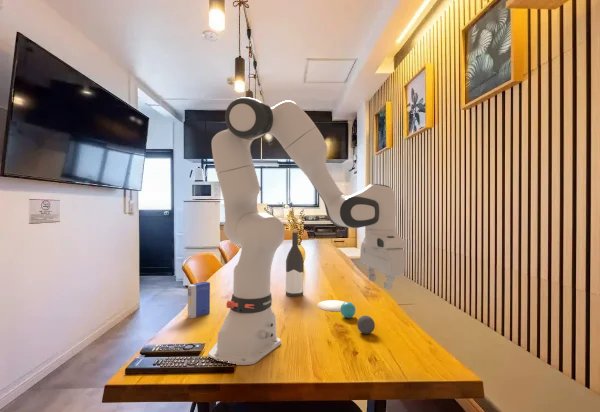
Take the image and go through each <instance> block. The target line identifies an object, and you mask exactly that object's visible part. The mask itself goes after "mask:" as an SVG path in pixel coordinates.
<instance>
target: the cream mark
mask: <svg viewBox="0 0 600 412" xmlns="http://www.w3.org/2000/svg"><path fill="white" fill-rule="evenodd" d="M345 302H346V301H343V300H337V299H336V300H335V299H334V300H333V299H329V300H323V301H319V302H318V303H317V307H318V308H319V309H321V310H322V311H327V312H341V311H340V308H341V305H342V304H343V303H345Z"/></svg>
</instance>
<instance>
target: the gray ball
mask: <svg viewBox="0 0 600 412" xmlns="http://www.w3.org/2000/svg"><path fill="white" fill-rule="evenodd" d="M375 325H376V324H375V320H374V319H373V318H372V317H371V316H369V315H362V316H360V317H359V318H358V319H357V324H356V326H357V329H358V331H359V332H361V333H362V334H364V335H368V334H371V333H372V332H374V330H375V327H376V326H375Z"/></svg>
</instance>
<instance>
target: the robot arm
mask: <svg viewBox="0 0 600 412" xmlns="http://www.w3.org/2000/svg"><path fill="white" fill-rule="evenodd" d="M224 118H225V119H224V120H225V125H226V127H227V129H224V130H221V131H219V132H217V133H216V134H215V135H214V136H213V137H212V139H211V153H212V160H213V164H214V165H213V166H214V168H215V172H216V175H217V180H218V183H219V187H220V191H221V194H222V198H223V205H224V215H225V216H224V219H225V220H224V223H223V227H222V228H223V234H224V236H225V237H226V239H227V240H229V241H230V242H231V243H232V244H234V246H235V245H236V246H238V247H240V248H241V251H240V256H239V258H238V259H239V260H238V261H237V264H236V265H235V266H234V269H233V292H232V295H231V299H230V300H227V301H226V304H225V306H226V309H230V310H229V312H228V314H227V316H226V317H225V319H224V320H223V324H222V325H221V327H220V329H219V331H218V335H217V341H216V343H214V345H213V347H212V348H211V349H210V350H209V352H208V355H207V357H208V358H209V357H211V358H214V359H219V360H224V361H229V362H235V363H236V366H248V365H255V364H256V363H258V362H259V361H260V360H262V359H263V358H264V357H265V356H267V355H268V354H270V353H271V352H272V351H274V350H275V349H276V348H278V347H279V346H280V345H282V339H280V338H279V337H278V334H277V333H278V332H277V317H276V314H275V312H274V311H273V309H272V303H273V302H272V300H273V298H272V293H271V272H272V271H271V270H272V264H273V260H274V257H275V254H276V252H277V250H278V248H279V247H280V246H281V245H282V243H283V242H284V239H285V236H286V228H285V225H284V223H283V222H282V220H280V218H278V217H276V216H274V215H272V214H269V213H267V212H259V210H258V196H259V193H260V191H261V187H260V183H259V180H258V176H257V173H256V172H257V171H256V169H255V168H256V167H255V164H254V160H253V156H252V154H251V145H252V144H253V143H255V142H257V141H258V140H259V139H262V138H263V137H265V136H267V135H270V136H273V137H274V138H275V139H276V140H277V141H278V143H279V144H280V145H281V147H282V148H283V150H284V151H285V152H286V153H287V156H289V157H290V159H291V160H292V161H293V162H294V164H296V166H297V167H298V168H299V169H300V170H301V172H303V174H304V175H305V176H306V177H307V179H308V180H309V182H310V183H311V184H312V187H314V189H315V190H316V192H317V193H318V195H319V197H320V198H321V200H322V201H323V205H324V208H325V212H326V216H327V218H328V220H329V222H330V223H332V224H333V226H336V227H339V228H341V227H343V228H348V229H359V228H364V227H365V230H364V233H365V234H364V235H365V237H364V238H363V241H362V242H361V245H360V258H359V259H360V263H361V264H362V265H364V266H366V270H367V274H368V281H370V282H376V281H377V275H376V274H375V270H376V271H378V272H381V273H384V274H385V278H386V279H385V282H383V285H384V286H383V287H384V289H386V290H389V291H390V290H392V289H393V284H394V281H395V278H396V277H402V276H403V275H404V274H405V269H406V268H405V267H406V265H405V264H406V256H405V250H404V249H405V248H406V246H407V245H406V244H407V243H406V240H405V239H404V238H402V237H401V236H400V235H399V234H398V233H396V231H397V230H396V228H397V227H396V223H395V219H396V215H397V213H396V212H397V210H396V209H397V204H396V194H395V191H394V189H393V188H392V187H391V186H388V185H386V184H382V183H381V184H380V183H379V184H378V183H370V184H368V185H367V186H365V187H364V188H363V189H362V190H359V191H357V192H355V193H352V194H349V195H347V194H346V193H344V192H342V191H341V190H340V188H339V187H338V184H336V182H335V180H334V179H333V177H332V176H331V174H330V172H329V170H328V167H327V156H328V145H327V142H326V141H325V138H324V136H323V135H322V133H321V131H320V130H319V128H318V127H317V125H316V124H315V122H314V121H313V120H312V119H311V117H310V116H309V115H308V113H306V112H305V111H304V110H303V108H302V107H300V105H298V103H296V102H295V101H292V100H284V101H282V102H279V103H278V104H276V105H275V106H272V107H270V106H269V105H268V104H265V103H264V102H262V101H261V100H259V99H256V98H252V97H245V96H244V97H243V96H242V97H239V98H236V99H234V100H232V101H231V102H230V103H229V104H228V106H227V107H226V110H225V115H224Z"/></svg>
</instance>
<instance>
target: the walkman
mask: <svg viewBox="0 0 600 412" xmlns="http://www.w3.org/2000/svg"><path fill="white" fill-rule="evenodd" d="M210 306H211V283H210V282H209V281H206V280H202V281H201V282H196V283H191V284H188V285H187V317H188V318H189V319H195V318H198V317H201V316H204V315H208V314H210V313H211V311H210V309H211V308H210Z"/></svg>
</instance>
